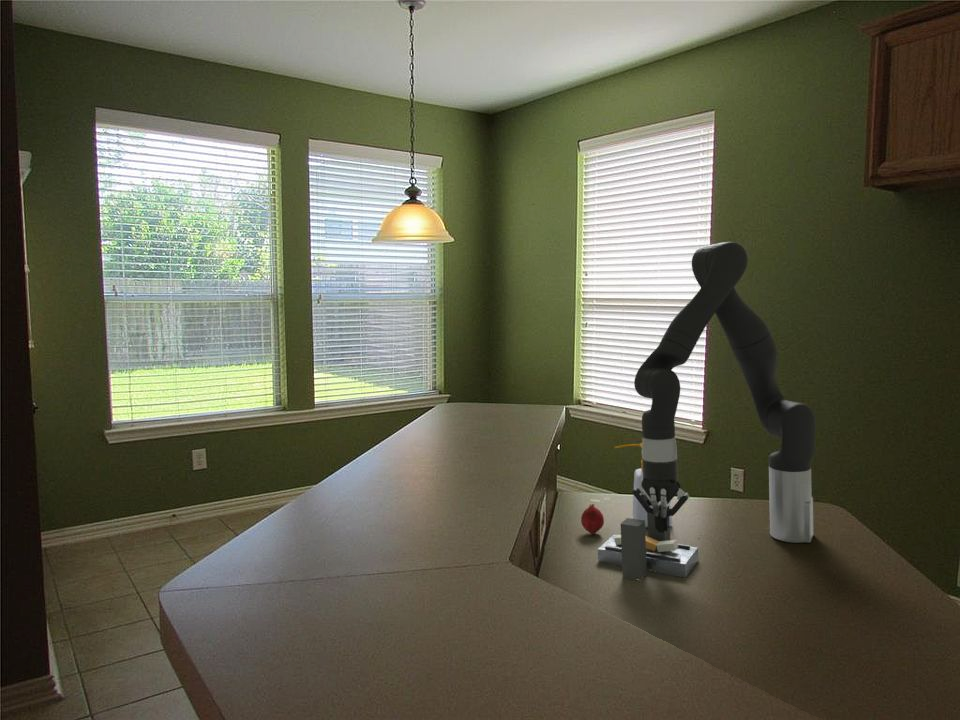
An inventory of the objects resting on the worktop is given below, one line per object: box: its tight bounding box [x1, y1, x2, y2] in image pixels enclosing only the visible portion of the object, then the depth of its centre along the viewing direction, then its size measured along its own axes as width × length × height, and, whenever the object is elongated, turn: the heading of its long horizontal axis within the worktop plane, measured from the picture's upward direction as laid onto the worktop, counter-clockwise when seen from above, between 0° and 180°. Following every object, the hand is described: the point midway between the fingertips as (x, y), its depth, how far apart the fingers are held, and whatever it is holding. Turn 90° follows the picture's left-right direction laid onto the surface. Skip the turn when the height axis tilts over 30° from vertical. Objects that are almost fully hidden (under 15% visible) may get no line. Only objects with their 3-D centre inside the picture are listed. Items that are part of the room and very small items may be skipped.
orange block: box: [645, 535, 659, 551], centre depth 146 cm, size 4×2×2 cm, turn 57°
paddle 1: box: [614, 534, 621, 545], centre depth 150 cm, size 4×2×2 cm, turn 56°
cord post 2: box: [647, 498, 671, 541], centre depth 153 cm, size 4×4×12 cm
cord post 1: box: [620, 517, 648, 581], centre depth 139 cm, size 4×4×12 cm
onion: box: [580, 503, 605, 535], centre depth 165 cm, size 6×6×8 cm
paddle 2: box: [656, 539, 679, 552], centre depth 144 cm, size 4×2×2 cm, turn 56°
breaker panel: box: [597, 533, 699, 578], centre depth 147 cm, size 20×10×4 cm, turn 57°
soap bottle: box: [614, 442, 673, 528], centre depth 170 cm, size 10×14×22 cm
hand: (662, 531), depth 144 cm, fingers closed
